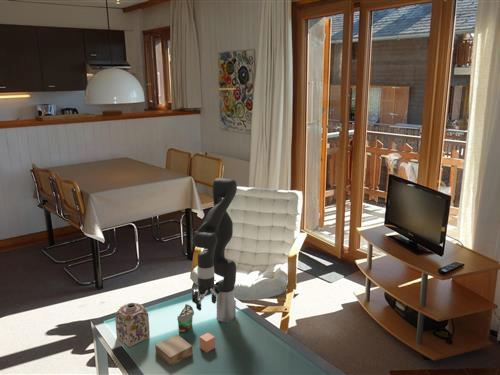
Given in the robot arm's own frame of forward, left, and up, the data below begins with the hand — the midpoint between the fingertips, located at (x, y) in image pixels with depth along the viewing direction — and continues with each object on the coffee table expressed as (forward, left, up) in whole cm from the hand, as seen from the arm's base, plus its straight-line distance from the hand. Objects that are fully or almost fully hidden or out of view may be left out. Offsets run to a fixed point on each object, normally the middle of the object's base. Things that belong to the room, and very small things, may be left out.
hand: (206, 306), depth 204 cm
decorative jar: (+21, -31, -22) cm, 44 cm away
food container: (-3, -19, -22) cm, 29 cm away
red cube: (0, 0, -22) cm, 22 cm away
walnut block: (+14, -7, -22) cm, 27 cm away
